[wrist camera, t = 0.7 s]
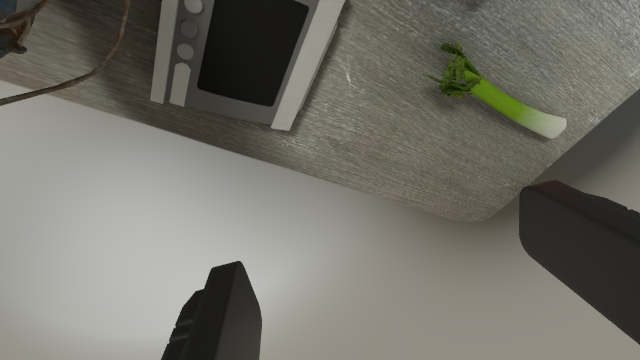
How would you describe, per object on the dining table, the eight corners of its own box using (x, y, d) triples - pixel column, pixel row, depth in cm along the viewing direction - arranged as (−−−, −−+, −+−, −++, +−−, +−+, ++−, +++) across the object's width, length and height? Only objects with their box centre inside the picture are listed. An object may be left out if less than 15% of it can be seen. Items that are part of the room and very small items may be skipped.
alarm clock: (173, -94, 24) (358, -1, 30) (186, -93, 28) (349, -10, 33) (150, 100, 34) (293, 143, 39) (161, 82, 37) (291, 124, 43)
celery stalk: (526, 136, 55) (401, 76, 40) (556, 99, 52) (433, 21, 37) (557, 154, 50) (429, 94, 36) (592, 115, 47) (467, 32, 33)
